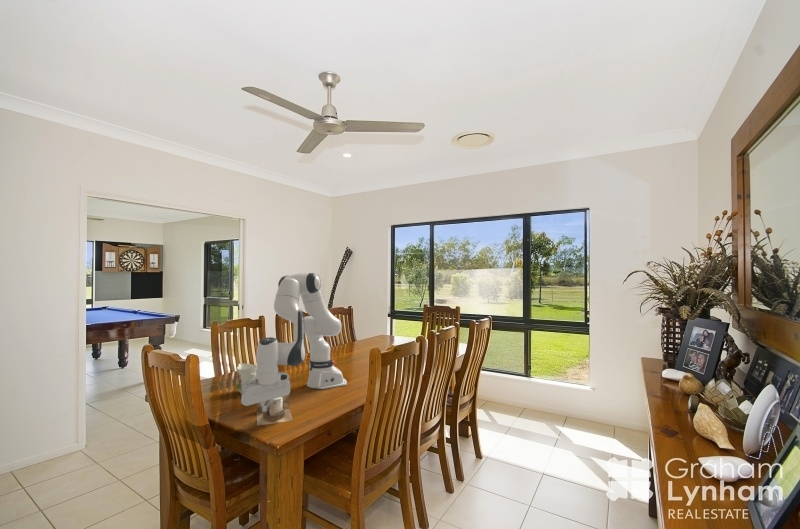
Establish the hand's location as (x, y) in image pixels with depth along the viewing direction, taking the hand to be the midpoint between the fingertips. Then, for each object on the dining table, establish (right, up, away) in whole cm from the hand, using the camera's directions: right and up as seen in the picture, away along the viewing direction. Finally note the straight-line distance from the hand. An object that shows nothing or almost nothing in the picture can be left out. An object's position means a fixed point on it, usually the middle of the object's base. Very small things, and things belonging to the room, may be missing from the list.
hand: (266, 410), depth 148 cm
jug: (+2, -5, +4) cm, 6 cm away
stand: (+1, -6, +5) cm, 8 cm away
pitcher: (-25, -7, +40) cm, 47 cm away
